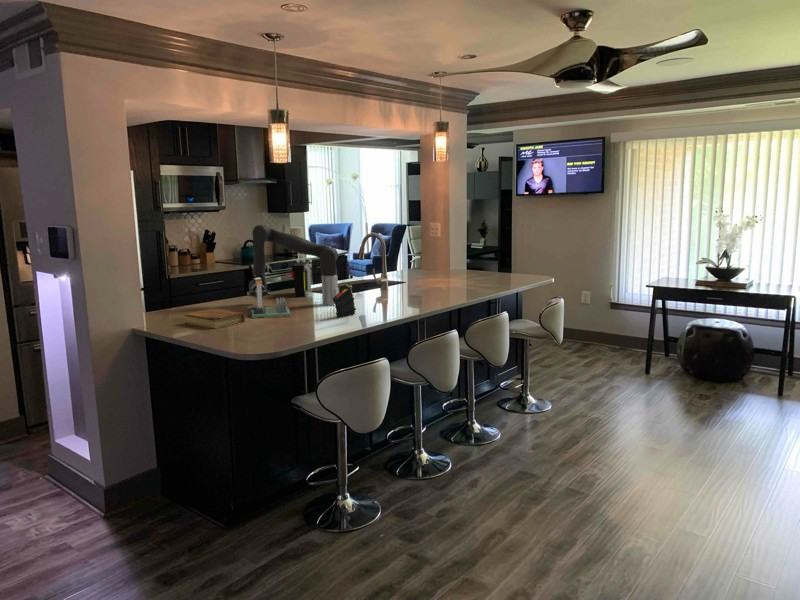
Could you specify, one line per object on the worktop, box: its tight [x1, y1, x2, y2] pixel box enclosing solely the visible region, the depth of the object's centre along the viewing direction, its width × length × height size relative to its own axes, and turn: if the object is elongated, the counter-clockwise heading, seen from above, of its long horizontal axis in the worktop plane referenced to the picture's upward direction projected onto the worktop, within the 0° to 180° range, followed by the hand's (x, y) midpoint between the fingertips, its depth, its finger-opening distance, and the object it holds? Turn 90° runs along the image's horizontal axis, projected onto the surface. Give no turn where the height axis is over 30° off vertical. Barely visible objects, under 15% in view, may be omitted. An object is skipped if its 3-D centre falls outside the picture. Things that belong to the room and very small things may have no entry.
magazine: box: [333, 286, 357, 318], centre depth 320 cm, size 4×13×15 cm, turn 138°
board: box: [251, 305, 292, 319], centre depth 329 cm, size 22×20×2 cm
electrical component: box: [290, 261, 313, 298], centre depth 389 cm, size 18×10×20 cm, turn 179°
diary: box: [184, 307, 246, 330], centre depth 305 cm, size 23×19×6 cm
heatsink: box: [247, 297, 287, 317], centre depth 329 cm, size 17×20×7 cm
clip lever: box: [253, 279, 264, 313], centre depth 323 cm, size 5×6×17 cm
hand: (258, 295), depth 325 cm, fingers closed
